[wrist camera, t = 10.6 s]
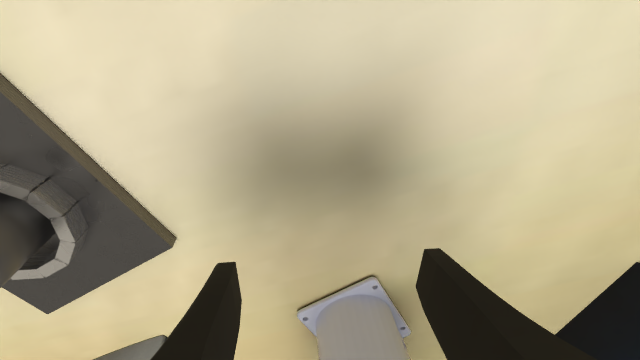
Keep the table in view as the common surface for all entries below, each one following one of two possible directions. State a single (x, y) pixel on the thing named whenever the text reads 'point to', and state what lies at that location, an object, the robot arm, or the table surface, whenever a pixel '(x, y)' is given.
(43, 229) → the blue-grey cylinder
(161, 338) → the external hard drive
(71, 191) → the metal base plate
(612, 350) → the book
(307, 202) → the table surface
